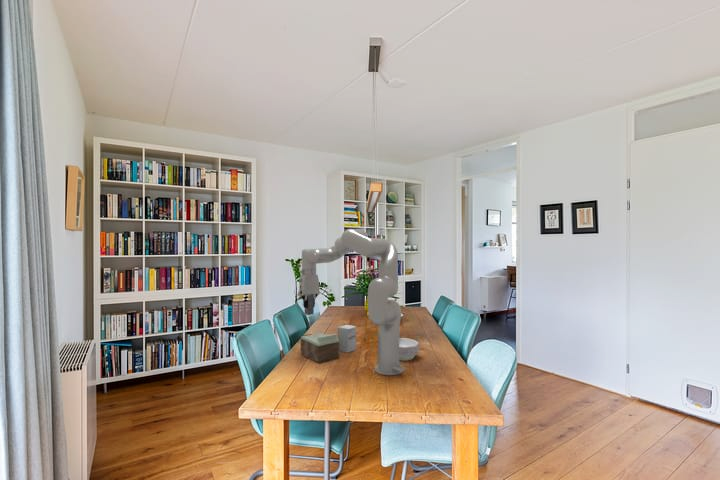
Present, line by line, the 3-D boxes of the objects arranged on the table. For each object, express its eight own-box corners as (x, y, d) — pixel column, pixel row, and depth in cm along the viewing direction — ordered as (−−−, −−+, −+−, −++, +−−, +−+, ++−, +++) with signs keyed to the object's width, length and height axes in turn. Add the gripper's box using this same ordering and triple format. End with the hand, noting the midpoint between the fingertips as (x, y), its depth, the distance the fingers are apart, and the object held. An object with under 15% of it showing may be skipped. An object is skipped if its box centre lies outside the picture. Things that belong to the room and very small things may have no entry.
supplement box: (347, 353, 181) (347, 329, 181) (337, 350, 185) (337, 326, 185) (356, 349, 187) (356, 326, 187) (345, 347, 191) (346, 324, 191)
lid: (338, 341, 173) (339, 334, 173) (318, 346, 165) (318, 338, 165) (321, 334, 185) (321, 327, 185) (301, 338, 178) (301, 331, 178)
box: (338, 358, 173) (338, 342, 173) (318, 363, 165) (318, 346, 165) (315, 347, 190) (315, 333, 190) (295, 352, 182) (295, 336, 182)
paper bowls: (415, 364, 165) (415, 347, 165) (384, 360, 170) (384, 344, 170) (420, 354, 179) (420, 339, 179) (392, 351, 184) (392, 336, 184)
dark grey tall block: (313, 314, 183) (313, 295, 183) (307, 315, 181) (308, 295, 181) (310, 313, 186) (310, 294, 186) (304, 313, 184) (304, 294, 184)
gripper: (298, 273, 176) (298, 310, 176) (326, 272, 186) (326, 306, 186) (291, 272, 182) (291, 308, 181) (318, 271, 192) (318, 304, 192)
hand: (309, 306), depth 184 cm, fingers closed on dark grey tall block, 3 cm apart
